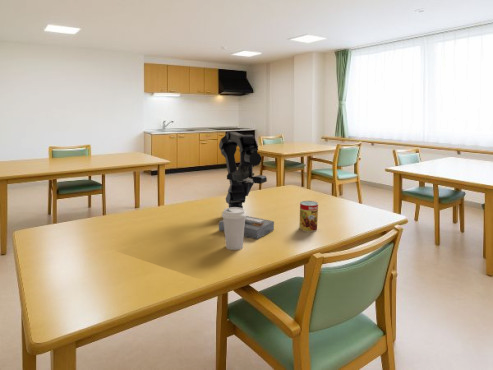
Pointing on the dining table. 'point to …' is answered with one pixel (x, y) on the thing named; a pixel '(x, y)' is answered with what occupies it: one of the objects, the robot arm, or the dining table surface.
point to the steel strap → (254, 220)
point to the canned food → (308, 216)
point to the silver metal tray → (254, 228)
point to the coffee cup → (234, 227)
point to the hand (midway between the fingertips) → (246, 195)
